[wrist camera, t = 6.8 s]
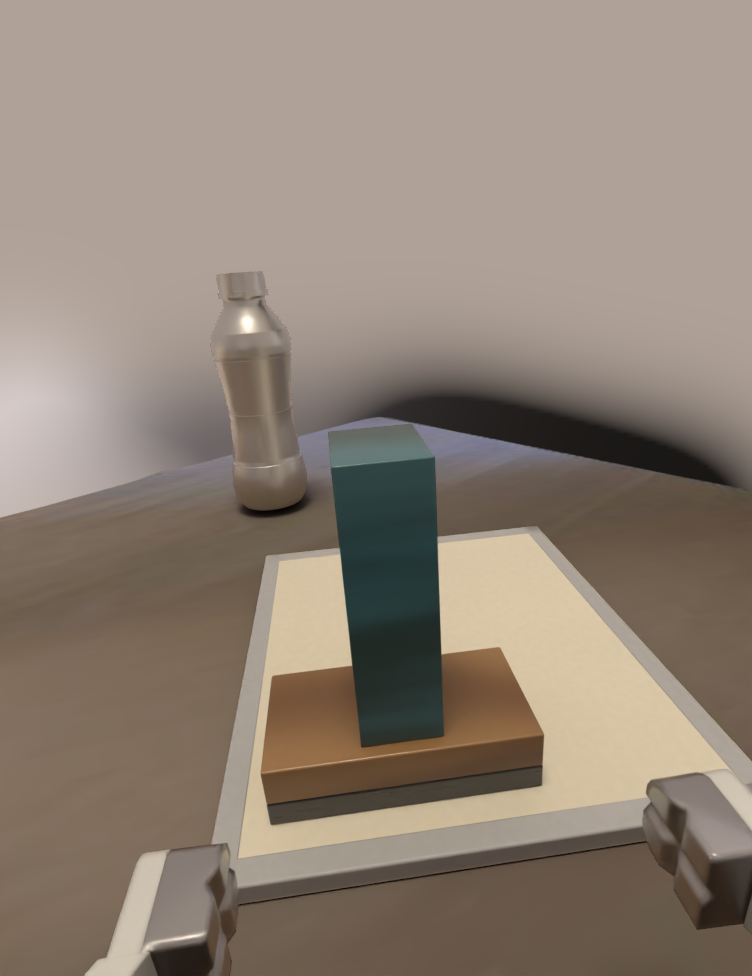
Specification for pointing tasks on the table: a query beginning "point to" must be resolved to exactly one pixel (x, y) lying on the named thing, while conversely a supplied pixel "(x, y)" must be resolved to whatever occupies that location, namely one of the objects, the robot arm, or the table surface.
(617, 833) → the whiteboard
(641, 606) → the table surface
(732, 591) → the table surface
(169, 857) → the robot arm
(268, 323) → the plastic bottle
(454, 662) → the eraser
